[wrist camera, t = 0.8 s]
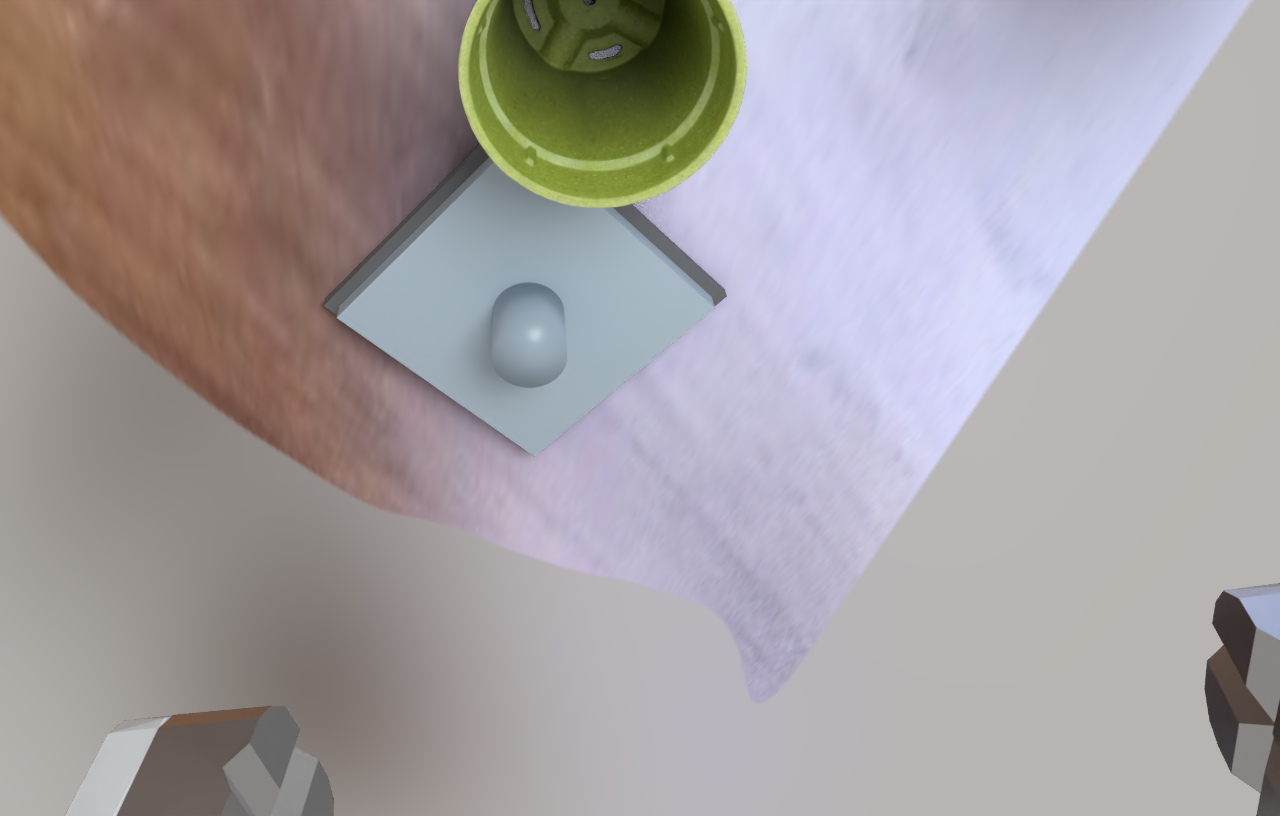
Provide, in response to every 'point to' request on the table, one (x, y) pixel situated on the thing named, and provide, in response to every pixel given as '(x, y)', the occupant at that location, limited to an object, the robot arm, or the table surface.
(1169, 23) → the table surface
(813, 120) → the table surface
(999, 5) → the table surface
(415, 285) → the lid
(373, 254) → the mat
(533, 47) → the plant pot
